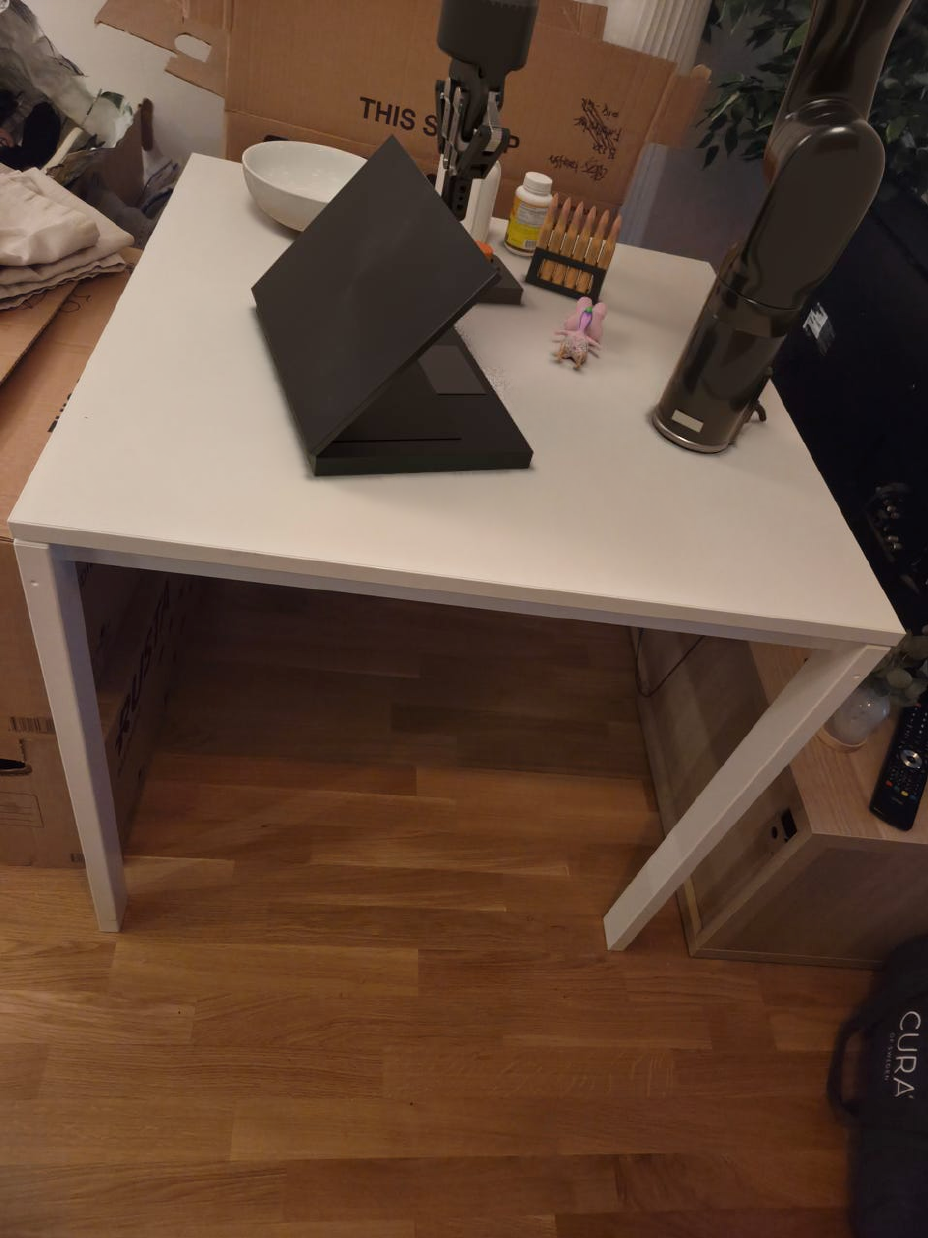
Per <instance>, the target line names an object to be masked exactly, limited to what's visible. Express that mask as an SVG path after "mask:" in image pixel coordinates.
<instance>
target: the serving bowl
mask: <svg viewBox="0 0 928 1238" xmlns="http://www.w3.org/2000/svg"><path fill="white" fill-rule="evenodd" d="M367 161H368V159H366V158H364V157H362V156H360V155H356V154H354V153H350V152H348V151H345V150H342V149H339V148H335V147H332V146H328V145H322V144H318V143H311V142H303V141H292V140H272V141H264V142H260V143H256V144H254V145H251V146H249V147H248V148H247V149H245V150H244V152H242V156H241V164H242V172H243V177H244V182H245V185H246V187H247V190H248V192H249V194H250V195H251V196H252V199H253V201H254V202H255V203H256V204H257V206H259V208H261V210H262V211H263V212H265V213H266V214H267V215H268V216H270V217H271V218H272V219H274V220H275V221H277V222H278V223H280V224H282V225H283V226H286V227H288V228H290V229H292V230H295V231H297V232H301V233H302V232H303V231H304V230H305V229H306V227H307V226H308V225H309V224H310V223H311V222H312V221H313V220H314V219H315V218H316V216H317V215H318V214H319V213H320V212H321V211H322V210H323V209H324V208H325V207H326V206H327V204H328V203H329V202H330V201H331V200H332V199H333V198H334V197H335V196H336V195H337V193H338V192H339V191H340V190H341V189H342V188H343V187H344V186H345V185H346V184H347V182H348V181H349V180H350V179H351V178H352V177H353V176H354V175H355V174H356V173H357V172H358V170H359V169H360V168H361V167H362V166H363V165H364V164H365V163H366V162H367Z"/></svg>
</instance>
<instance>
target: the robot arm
mask: <svg viewBox="0 0 928 1238" xmlns="http://www.w3.org/2000/svg"><path fill="white" fill-rule="evenodd" d="M540 1H541V0H441V4H440V11H439V12H440V13H439V18H438V25H437V31H436V32H437V33H436V45H437V47H438V49H439V50H440V51H441V52H442V53H443V54H445V55H446V56H448V57H449V58H451V61H450V62H449V66H448V76H447V77H446V79H444V80H443V79H436V81H435V84H434V100H435V118H436V119H435V121H436V136H437V137H436V140H437V141H436V143H437V153H438V154H439V155H441V154H444V155H443V168H444V169H447V170H446V171H445V175H444V181H443V187H442V193H441V197H442V199H443V200H444V201H445V203H446V204H447V205H448V206H449V208H450V209H451V210H452V212H453V213H454V214H455V216H456V217H457V218H458V220H459V221H463V220H464V219H465V217H466V213H467V208H468V202H469V197H470V192H471V187H472V182H473V179H485V178H486V177H487V175H488V174H489V172H490V171H491V169H492V168H493V166H494V165H495V163H496V162H497V161H498V160H499V159H500V157H501V156H502V154H503V152H504V151H505V149H506V148H507V146H508V145H509V143H510V139H511V129H510V128H509V127H503V126H501V122H500V116H501V115H502V110H503V105H504V102H505V87H506V86H505V85H506V77H507V75H509V74H510V73H511V72H517V71H520V70H522V69H523V68H524V67H525V66H526V64H527V63H528V57H529V53H530V47H531V42H532V38H533V34H534V29H535V25H536V21H537V15H538V12H539V7H540ZM912 1H913V0H813V5H812V10H811V12H810V17H809V22H808V25H807V28H806V33H805V36H804V38H803V39H804V40H803V42H802V45H801V48H800V52H799V55H798V57H797V60H796V62H795V66H794V69H793V70H792V74H791V76H790V79H789V82H788V85H787V87H786V91H785V93H784V96H783V99H782V101H781V104H780V107H779V109H778V112H777V114H776V117H775V120H774V123H773V126H772V127H771V131H770V133H769V136H768V138H767V142H766V146H765V149H764V154H763V159H762V177H763V182H764V187H765V188H766V191H767V192H766V194H765V196H764V198H763V201H762V202H761V204H760V206H759V208H758V210H757V213H756V215H755V216H754V219H753V220H752V223H751V224H750V227H749V229H748V230H747V232H746V234H745V236H744V237H743V239H742V240H740V241H737V242H735V243H734V244H732V245H731V246H730V247H729V249H728V250H727V252H726V254H725V256H724V258H723V260H722V263H721V265H720V267H719V269H718V271H717V274H716V276H715V278H714V280H713V282H712V284H711V287H710V289H709V291H708V293H707V295H706V298H705V300H704V303H703V304H702V306H701V309H700V311H699V313H698V315H697V317H696V320H695V322H694V324H693V327H692V328H691V330H690V333H689V335H688V337H687V340H686V341H685V344H684V346H683V348H682V350H681V353H680V355H679V357H678V359H677V362H676V364H675V366H674V368H673V370H672V372H671V375H670V377H669V379H668V381H667V384H666V385H665V388H664V390H663V392H662V395H661V396H660V399H659V400H658V403H657V404H656V405H655V408H654V409H653V412H652V415H651V417H652V422H653V424H654V426H655V427H656V429H657V430H658V431H659V432H660V434H662V435H663V436H664V437H665V438H667V439H669V440H670V441H672V442H673V443H675V444H677V445H679V446H682V447H683V448H687V449H689V450H692V451H695V452H696V451H697V452H702V453H716V452H720V451H722V450H724V449H725V448H726V447H727V446H728V445H729V444H735V442H736V440H737V438H738V436H739V435H740V433H741V431H742V430H743V428H744V426H745V424H749V422H750V420H751V419H752V417H753V415H754V413H755V412H756V413H757V415H758V417H757V418H758V420H759V422H761V423H765V422H766V421H767V420H768V418H767V412H766V409H765V408H764V407H763V405H762V404H761V403H760V402H761V401H760V400H759V398H760V397H761V395H762V394H763V393H764V390H765V388H766V386H767V384H768V383H769V381H770V379H771V378H772V375H773V369H772V367H770V366H771V365H772V363H773V361H774V359H775V357H776V355H777V353H778V352H779V350H780V348H781V347H782V345H783V342H784V341H785V339H786V337H787V335H788V333H789V331H790V329H791V328H792V326H793V324H794V323H795V320H796V319H797V317H798V315H799V314H800V311H801V310H802V308H803V306H804V305H805V303H806V301H807V299H808V298H809V296H810V295H811V293H812V292H813V291H814V290H815V289H816V288H817V287H818V286H820V284H822V283H823V282H824V280H826V278H827V277H828V276H829V274H830V273H831V271H833V268H834V266H835V265H836V263H837V262H838V260H839V259H840V257H841V256H842V254H843V252H844V251H845V248H846V247H847V245H848V243H849V242H850V240H851V238H852V237H853V235H854V234H855V232H856V230H857V229H858V228H859V226H860V224H861V222H862V220H863V219H864V218H865V215H866V213H867V212H868V210H869V208H870V206H871V204H872V203H873V200H874V199H875V196H876V194H877V192H878V190H879V187H880V185H881V182H882V179H883V176H884V171H885V167H886V153H885V147H884V144H883V141H882V140H881V137H880V136H879V134H878V133H877V131H876V130H875V129H874V128H873V127H872V126H871V125H870V124H869V123H868V121H869V117H870V112H871V108H872V103H873V100H874V96H875V92H876V89H877V85H878V82H879V78H880V75H881V72H882V69H883V66H884V62H885V59H886V56H887V54H888V50H889V48H890V45H891V42H892V40H893V38H894V36H895V33H896V31H897V29H898V27H899V25H900V23H901V21H902V18H903V16H904V14H905V13H906V11H907V9H908V8H909V6H910V4H911V2H912Z"/></svg>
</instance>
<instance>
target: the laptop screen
mask: <svg viewBox="0 0 928 1238" xmlns="http://www.w3.org/2000/svg"><path fill="white" fill-rule="evenodd" d="M367 160H368V161H367V162H366V163H365V164H364V165H363V166H362V167H361V168H360V169H359V170H358V172H357V173H356V174H355V175H354V176H353V177H352V178H351V179H350V180H349V181H348V182H347V184H346V185H345V186H344V187H343V188H342V189H341V190H340V191H339V192H338V193H337V195H336V196H335V197H334V198H333V199H332V200H331V201H330V202H329V203H328V204H327V206H326V207H325V208H324V209H323V210H322V211H321V212H320V213H319V214H318V215H317V216H316V218H315V219H314V220H313V221H312V222H311V223H310V224H309V225H308V226H307V227H306V229H305V230H304V231H303V232H301V233H300V234H299V235H298V236H297V237H296V238H295V239H294V240H293V242H291V244H290V245H289V246H288V247H287V248H286V249H285V250H284V251H283V253H282V254H281V255H279V257H278V258H277V259H276V260H275V261H274V262H273V264H272V265H271V266H270V267H269V268H268V269H267V270H266V271H265V273H263V274H262V275H261V277H260V278H259V279H258V280H257V281H256V282H255V283H254V284H253V285H252V286H251V288H250V291H251V294H252V296H253V299H254V301H255V305H257V308H258V310H259V313H260V316H261V319H262V322H263V324H264V327H265V330H266V333H267V336H268V339H269V341H270V344H271V347H272V350H273V353H274V355H275V358H276V361H277V364H278V367H279V369H280V372H281V375H282V378H283V381H284V384H285V386H286V389H287V392H288V395H289V398H290V400H291V403H292V406H293V409H294V412H295V414H296V417H297V420H298V423H299V426H300V429H301V431H302V434H303V437H304V440H305V443H306V445H307V448H308V451H309V454H311V455H312V456H314V457H316V456H317V455H319V454H320V453H321V452H322V451H323V450H324V449H325V448H326V447H327V446H328V445H329V444H330V443H331V442H332V441H333V440H334V439H335V438H336V437H337V436H338V435H339V434H340V433H342V432H343V431H344V430H345V429H346V428H347V427H348V426H349V425H350V424H351V423H352V422H353V421H354V420H355V419H356V418H357V417H358V416H359V415H360V414H361V413H362V412H363V411H365V410H366V409H367V408H368V407H369V406H370V405H371V404H372V403H373V402H374V401H375V400H376V399H377V398H378V397H379V396H380V395H381V394H382V393H383V392H384V391H385V390H387V389H388V388H389V387H390V386H391V385H392V384H393V383H394V382H395V381H396V380H397V379H398V378H399V377H400V376H401V375H402V374H403V373H404V372H405V371H406V370H407V369H408V368H410V367H411V366H412V365H413V364H414V363H415V362H416V361H417V360H418V359H419V358H420V357H421V356H422V355H423V354H424V353H425V352H426V351H427V350H428V349H429V348H430V347H431V346H433V345H434V344H435V343H436V342H437V341H438V340H439V339H440V338H441V337H442V336H443V335H444V334H445V333H446V332H447V331H448V330H449V329H450V328H451V327H452V326H453V325H454V326H455V325H456V323H458V322H459V321H460V320H461V319H462V318H464V316H465V315H466V314H467V313H468V312H469V311H470V310H472V309H473V308H474V307H475V305H477V304H479V303H478V302H479V301H480V300H481V299H482V298H483V297H484V296H485V295H486V294H487V293H488V292H489V291H490V290H491V289H492V288H493V287H494V286H495V285H496V284H497V283H498V282H499V281H501V280H502V276H501V275H500V274H499V272H498V271H497V270H496V268H495V267H494V266H493V265H492V263H491V262H490V261H489V259H488V258H487V257H486V255H485V254H484V253H483V251H482V250H481V249H480V247H479V246H478V245H477V243H476V242H475V241H474V239H473V238H472V237H471V236H470V234H469V233H468V232H467V230H466V229H465V228H464V226H463V225H462V224H461V222H460V221H459V220H458V218H457V217H456V216H455V214H454V213H453V212H452V210H451V209H450V208H449V206H448V205H447V204H446V203H445V201H444V200H443V199H442V197H441V196H440V195H439V193H438V192H437V191H436V189H435V187H434V185H433V184H432V183H431V181H430V180H429V179H428V178H427V176H426V174H425V173H424V172H423V170H421V168H420V167H419V165H418V164H417V163H416V162H415V160H414V158H412V157H411V155H410V154H409V153H408V151H407V150H406V148H405V147H404V146H403V145H402V143H401V142H400V140H399V139H398V138H397V137H396V136H395V134H394V133H391V134H390V135H389V136H388V137H387V138H386V140H385V141H383V143H382V144H381V145H380V146H379V147H378V148H377V149H376V150H375V151H374V153H373V154H372V155H371V156H370V157H369V158H368V159H367Z"/></svg>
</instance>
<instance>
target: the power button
mask: <svg viewBox="0 0 928 1238" xmlns="http://www.w3.org/2000/svg"><path fill="white" fill-rule="evenodd" d="M475 242H476V243H477V245H478V246H479V247H480V249H481V250H482V251H483V253H484V254H485V255H486V257H487V258H488V259H489V261H490V262H491V258H492V254H494V248H493V247H492V246H491V245H490V244H488V243H487V242H485V243H483V242H480V241H475Z"/></svg>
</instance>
